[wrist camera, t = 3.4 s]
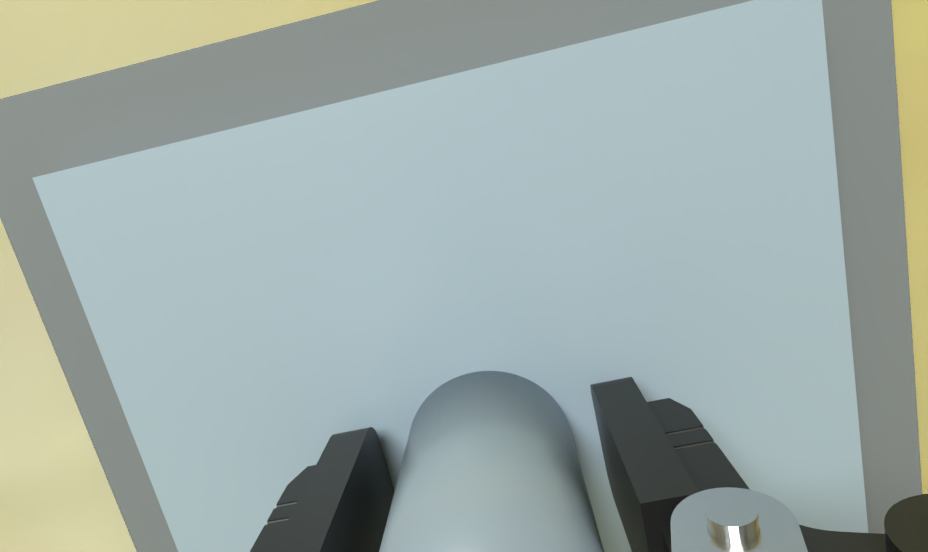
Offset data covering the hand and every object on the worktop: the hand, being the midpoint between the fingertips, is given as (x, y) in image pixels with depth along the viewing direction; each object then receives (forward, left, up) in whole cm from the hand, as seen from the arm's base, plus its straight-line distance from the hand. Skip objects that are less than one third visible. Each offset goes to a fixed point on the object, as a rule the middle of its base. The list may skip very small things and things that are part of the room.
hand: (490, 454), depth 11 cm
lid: (0, 0, -1) cm, 1 cm away
